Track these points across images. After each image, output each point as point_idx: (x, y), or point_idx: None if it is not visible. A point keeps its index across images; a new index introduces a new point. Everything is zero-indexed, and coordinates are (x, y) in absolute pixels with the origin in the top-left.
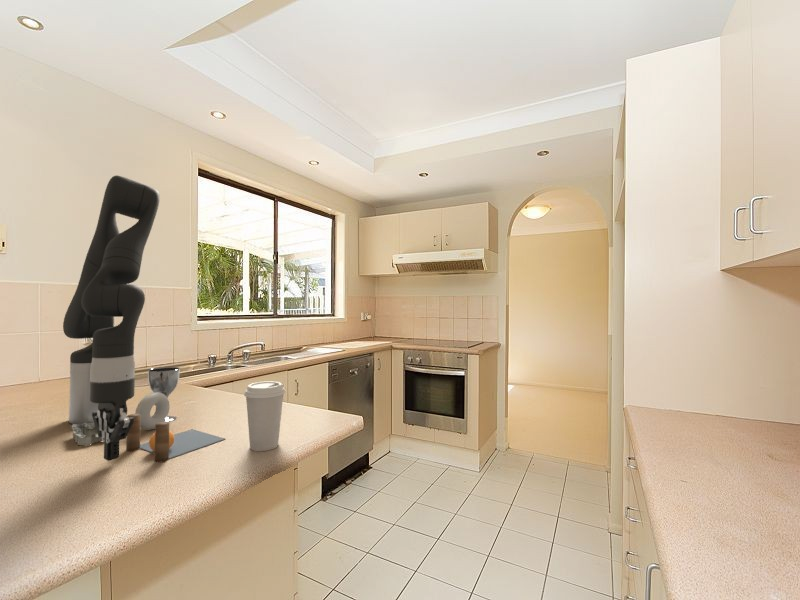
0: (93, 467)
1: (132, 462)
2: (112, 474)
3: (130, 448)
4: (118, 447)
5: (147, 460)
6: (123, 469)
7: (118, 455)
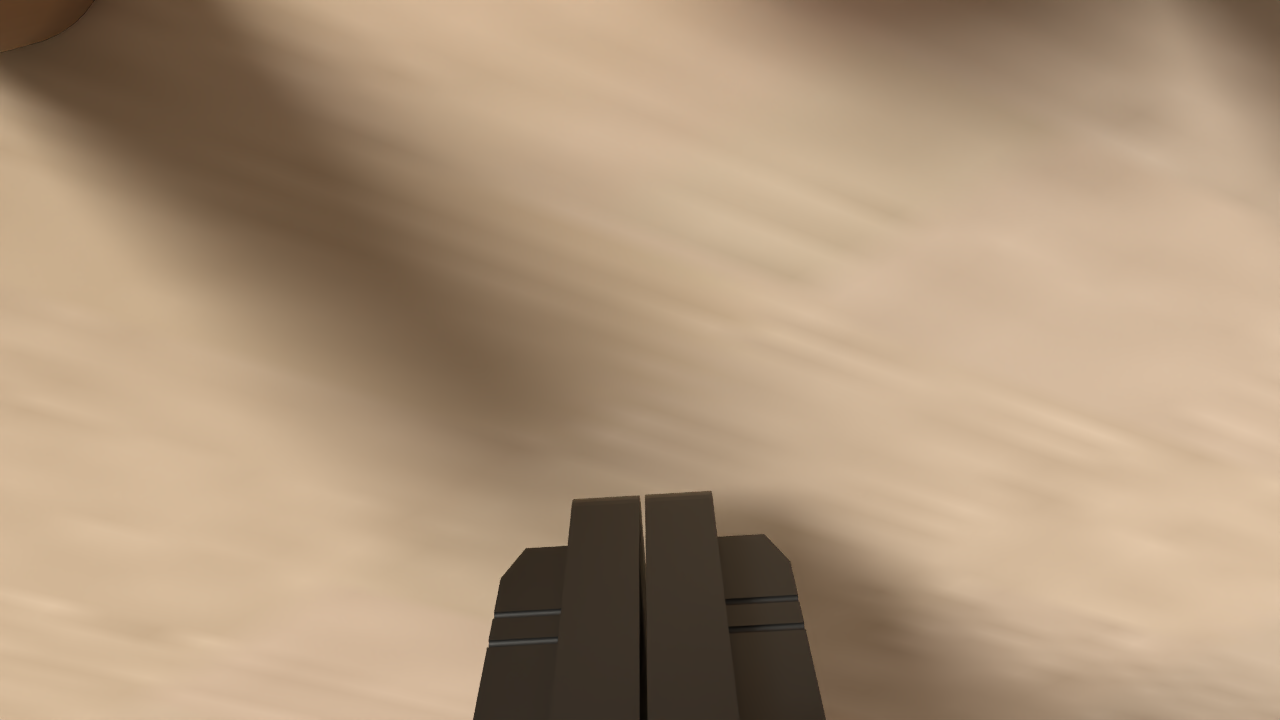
0: (477, 649)
1: (800, 236)
2: (1021, 592)
3: (57, 11)
4: (807, 659)
5: (964, 19)
6: (981, 440)
7: (711, 509)
